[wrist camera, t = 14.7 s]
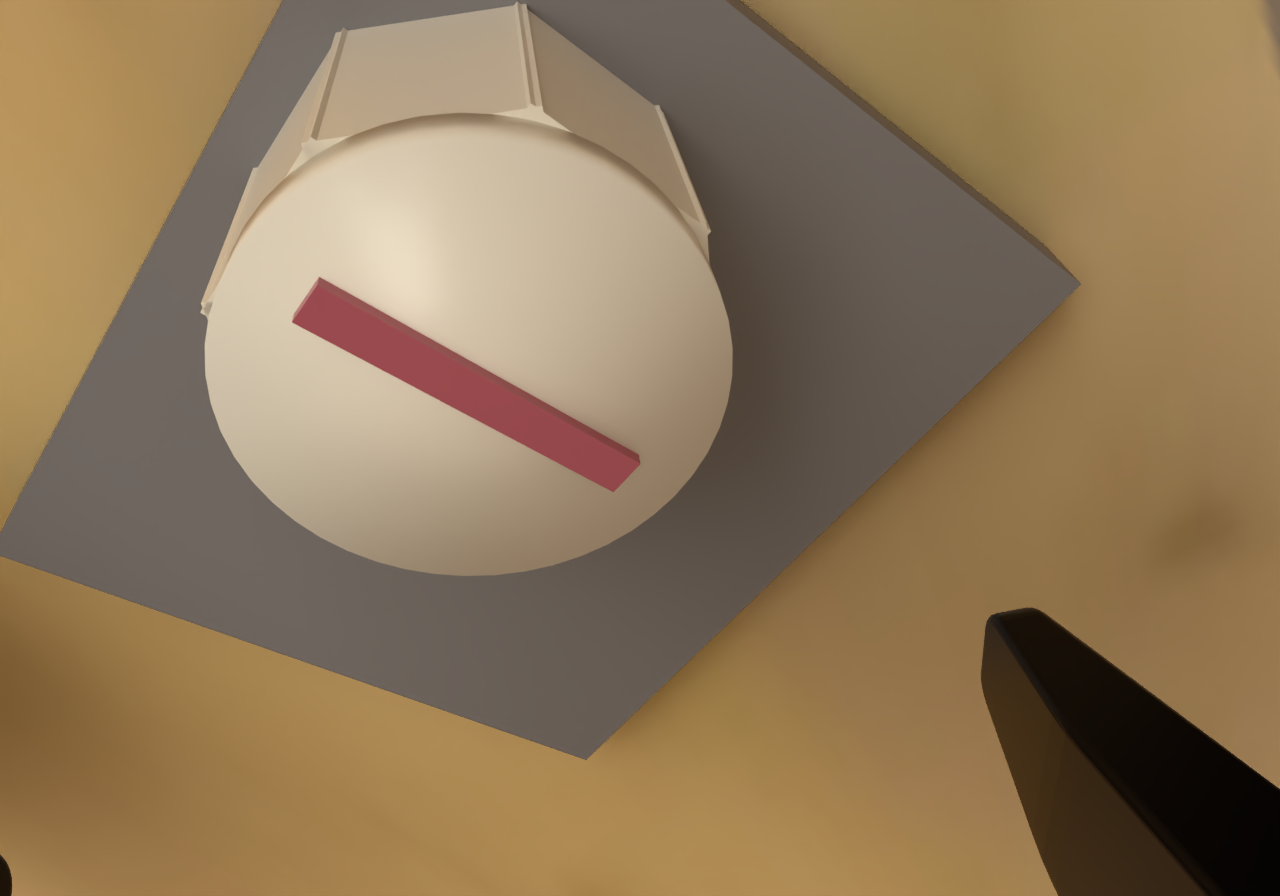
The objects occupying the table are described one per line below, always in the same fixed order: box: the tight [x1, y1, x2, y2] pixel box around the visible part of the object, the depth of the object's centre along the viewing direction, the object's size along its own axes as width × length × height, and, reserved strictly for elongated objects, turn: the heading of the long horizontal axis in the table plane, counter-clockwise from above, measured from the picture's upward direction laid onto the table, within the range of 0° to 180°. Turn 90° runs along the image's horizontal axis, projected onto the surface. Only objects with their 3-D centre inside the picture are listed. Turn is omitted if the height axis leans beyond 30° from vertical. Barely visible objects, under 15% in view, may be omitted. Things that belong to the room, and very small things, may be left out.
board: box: [0, 0, 1081, 760], centre depth 19 cm, size 16×14×5 cm
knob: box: [200, 2, 733, 576], centre depth 16 cm, size 7×7×5 cm
